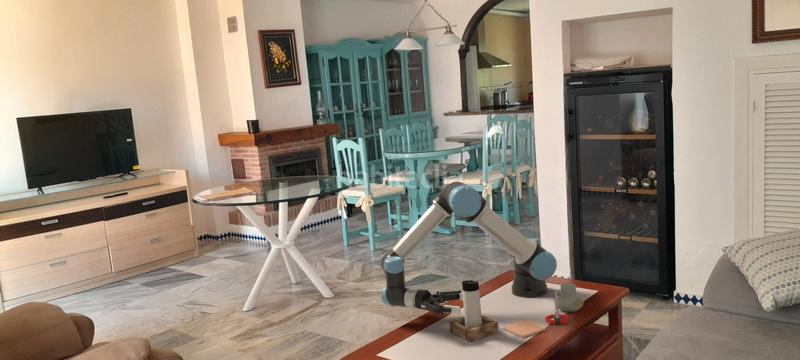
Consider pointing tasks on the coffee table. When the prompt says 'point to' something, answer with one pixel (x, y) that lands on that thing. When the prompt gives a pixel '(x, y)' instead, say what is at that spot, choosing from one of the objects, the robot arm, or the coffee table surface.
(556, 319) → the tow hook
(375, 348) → the coffee table surface
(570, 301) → the air freshener
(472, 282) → the travel mug
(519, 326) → the terracotta tile
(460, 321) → the wooden tray
